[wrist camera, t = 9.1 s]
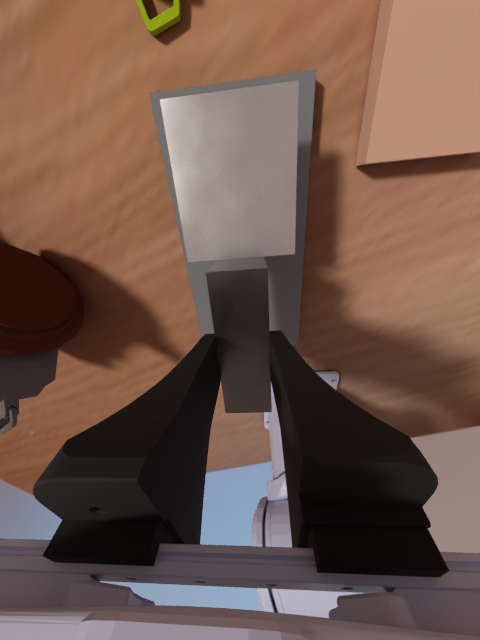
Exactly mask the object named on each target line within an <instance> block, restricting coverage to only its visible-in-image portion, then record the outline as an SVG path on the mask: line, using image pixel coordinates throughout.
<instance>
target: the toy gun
mask: <svg viewBox="0 0 480 640" xmlns="http://www.w3.org/2000/svg"><path fill="white" fill-rule="evenodd" d="M136 2H137V5H138V7H139V10H140V12H141V15H142V18H143V20H144V23H145V25H146V27H147V29H148V31H149V32H150V34H151V35H153V36H156V35H157V34H159V33H161V32H162V31H164V30H166V29H167V28H169V27H171V26H172V25H174V24H176V23H178V22H179V21H180V20H181V2H180V0H173V5H174V6H172V7H171V8H169V9H168V10H166V11H164V12H163V13H161V14H159V15H158V16H156V17H154V18H153V19H151V20H149V17H148V14H147V11H146V9H145V6H144V3H143V1H142V0H136Z"/></svg>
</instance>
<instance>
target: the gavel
mask: <svg viewBox="0 0 480 640" xmlns="http://www.w3.org/2000/svg"><path fill="white" fill-rule="evenodd" d="M83 319H84V306H83V303H82V299H81V296H80V293H79V291H78V290H77V289H76V287H75V286H74V285H73V283H72V282H71V281H70V280H69V279H68V278H67V277H66V276H65V275H64V274H63V273H62V272H61V271H60V270H58V269H57V268H56V267H55V266H53V265H52V264H50V263H48V262H47V261H45V260H44V259H42V258H41V257H39V256H37V255H35V254H32V253H30V252H27V251H24V250H21V249H19V248H16V247H13V246H11V245H8V244H4V243H0V402H1V414H0V435H1V434H3V433H5V432H6V431H8V430H10V429H11V428H13V427H15V426H16V424H17V415H18V414H19V399H24V398H30V397H35V396H37V395H38V394H39V393H40V392H41V391H42V389H43V388H44V387H45V386H46V385H47V384H49V383H51V382H52V381H54V380H55V374H56V365H57V356H58V349H59V348H60V347H61V346H62V345H63V344H64V343H65V342H67V341H69V340H70V339H72V338H74V336H75V335H76V333H77V332H78V330H79V329H80V327H81V326H82V324H83ZM4 418H6V419H4ZM3 419H4V420H3ZM8 423H9V424H8ZM7 424H8V425H7ZM5 425H6V426H5ZM4 426H5V427H4Z"/></svg>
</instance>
